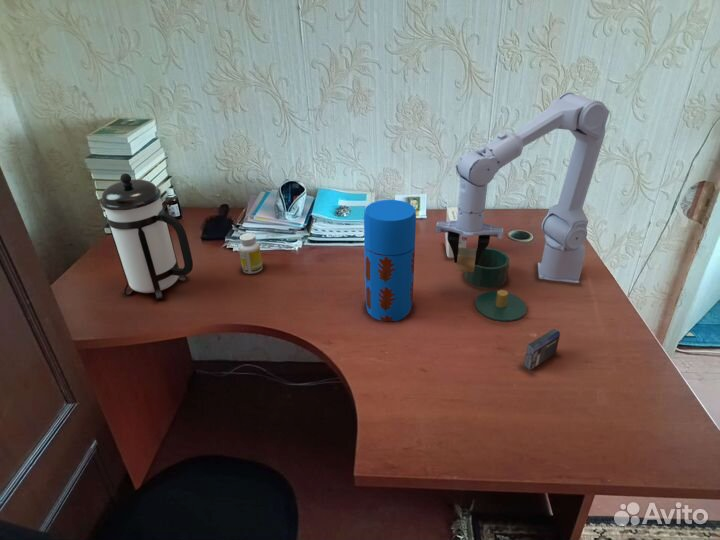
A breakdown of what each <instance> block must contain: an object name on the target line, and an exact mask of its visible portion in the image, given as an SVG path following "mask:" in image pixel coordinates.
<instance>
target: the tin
mask: <svg viewBox="0 0 720 540" xmlns="http://www.w3.org/2000/svg"><path fill="white" fill-rule="evenodd" d="M475 249H477V247H476V248H475ZM476 252H477V250H476ZM509 268H510V257H509V256H508V254H507V253H506V252H503V251H502V250H500V249H496V248H494V247H493V248H492V247H486V248H485V250H484V251H483V253H482V255H481V257H480V259H479V262H478V265H475V268H474V272H465V271H463V272H464V273H463V277H464V278H465V281H466V282H468V283H469V284H471V285H473V286H476V287H478V288H483V289H484V288H485V289H494V288H498V287H500V286H503V285H505V283H507V281H508V276H509V275H508V274H509Z"/></svg>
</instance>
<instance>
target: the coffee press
mask: <svg viewBox="0 0 720 540" xmlns="http://www.w3.org/2000/svg"><path fill="white" fill-rule="evenodd" d="M119 180H120V181H118V182H115V183H113V184H111V185H109V186H108V187H106V188H105V189H104V190H103V191H102V193H101V198H100V200H99V203H100V205H101V207H102V208H103V209H104V212H105V218H106V222H107V224H108V228H109V230H110V234H111V237H112V240H113V243H114V246H115V249H116V252H117V256H118V259H119V262H120V265H121V268H122V272H123V274H124V278H125V281H126V285H125V286H124V290H123V291H124V294H125V295H126V296H130V295H132V293H133V292H134V291H135V292H136V293H137V292H138V293H142V294H150V293H155V297H156V300H157V302H160V301H162V300H163V301H164V298H163V294H162V291H164V290H166V289H168V288H170V287H172V286H173V285H174V284H175V283H176V282H177V281H181V282H185V281H187V275H188V274H190V273H191V272H192V271H193V268H194V262H193V257H192V252H191V248H190V244H189V239H188V236H187V232H186V230H185V228H184V226H183V224H182V223H181V222H180V221H179V219H178V218H176V217H174V216H173V215H171V214H167V213H166V212H165V211H166V210H165V208H164V207H165V206H164V205H163V203H162V199H161V197H162V192H161V189H160V188H159V187H157V186H156V185H155V183H153V182H151V181H149V180H146V179H140V178H139V179H137V178H136V179H132V176H131V175H130V174H129V173H122V174H121V175H120V178H119ZM169 225H170V226H171V227H172V228H173V229H174V230H175V232H176V235H177V238H178V243H179V246H180V247H179V248H180V251H181V255H182V258H183V265H184V266H183V267H182V268H181V267H180V266H179V262H178V259H177V255H176V251H175V247H174V242H173V239H172V235H171V230H170V227H169ZM128 287H130V290H129V291H127V290H128Z"/></svg>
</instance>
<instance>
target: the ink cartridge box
mask: <svg viewBox="0 0 720 540" xmlns="http://www.w3.org/2000/svg"><path fill="white" fill-rule="evenodd" d="M457 215H458V206H448V207H446V221H445V222H450V221H457ZM444 234H445V235H444V247H445V252H446V256H447V258H449V259H454V255H453V251H452V248H451V246H450V244H449V242H448V239H447V237H448V233H447V232H444ZM467 242H468V237H464V236H463V234H460V237H459V247H460V248H467Z"/></svg>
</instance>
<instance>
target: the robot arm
mask: <svg viewBox="0 0 720 540" xmlns="http://www.w3.org/2000/svg"><path fill="white" fill-rule="evenodd" d="M609 114H610V110H609V109H608V108H607V106H606V105H605V103H603V101H600V100H594V99H591V98H589V97H585V96H581V95H578V94H576V93H574V92H564V93H562V94H561V95H559V96H558V97H557V98H555V99H553V100H551V102H550V103H549V106H548V107H547V108H546V109H545V110H544V111H542V112H541V113H539V114H538V115H537V116H535V117H534V118H532V119H531V120H530V121H529V122H527V123H526V124H524V125H523V126H522V127H520V129H518V130H517V131H515V132H510V131H505V132H500V133H498V134H497V135H496V136H497V137H496V138H495V139H493V140H491V141H490V142H488V143H487V144H485V145H484V146H480V147H478V149H477V150H476V151H474V150H473V151H468V152H466V153H464V154H463V155H462V156H461V157H460V158H459V160H458V163H457V164H456V165H455V170H456V173H457V174H458V176H459V191H458V204H457V207H458V215H457V221H450V222H446V221H437V222H436V224H435V225H436V226H435V233H436V234H441V233H446V232H447V233H448V237H447V239H448V242H449V244H450V246H451V248H452V251H453V255H454V258H453V263H454V264H457V256H458V251H459V237H460V234H463V236H464V237H467V238H473V237H474V236H478V237H477V245H476V246H477V247H476V248H477V252H476V258H475V265H478V262H479V259H480V257H481V255H482V253H483V251H484V250H485V248H488V246H489V244H490V241H491V238H496V239H499V240H503V237H504V236H503V235H504V227H502V226H496V225H492V224H488V223H484V221H485V220H484V219H485V211H486V203H487V195H488V186H489V183H491V182H492V180H494V177H495V175H496V174H497V173H499V170H501V169H502V168H503V167H505V166H506V165H508V164H510V163H511V162H513V161H514V160H515V159H518V158H519V157H520V156H521V155H522V152H523V151H524V147H526V146H528V145H529V144H532V143H533V142H535V141H537V140H539V139H540V138H542V137H544V136H545V135H547V134H549V133H551V132H553V131H554V130H556V129H557V130H566V131H570V133H571V134H572V136H574V138H575V141H574V145H573V149H572V152H571V155H570V159H569V163H568V167H567V169H566V174H565V177H564V179H563V183H562V187H561V192H560V194H559V198H558V202H557V204H554V205H551V206H550V207H548V211H547V214H546V215H545V217H544V218H543V220H542V223H541V232H542V233H543V234H544V237H543V238H544V239H545V243H544V246H543V253H542V257H541V262H537V270H538V271H537V272H538V279H540V280H549V281H557V282H567V283H574V284H579V283H580V278H581V274H582V271H583V266H584V262H585V258H586V245H585V244H584V243H585V242H586V240H587V237H588V224H589V220H588V219H589V218H588V217H587V215H586V213H585V212H584V209H583V208H584V204H585V201H586V198H587V194H588V192H589V189H590V185H591V181H592V178H593V175H594V171H595V169H596V165H597V162H598V158H599V155H600V153H601V149H602V146H603V143H604V140H605V136H606V124H607V123H608V122H607V121H608V118H609Z"/></svg>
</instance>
